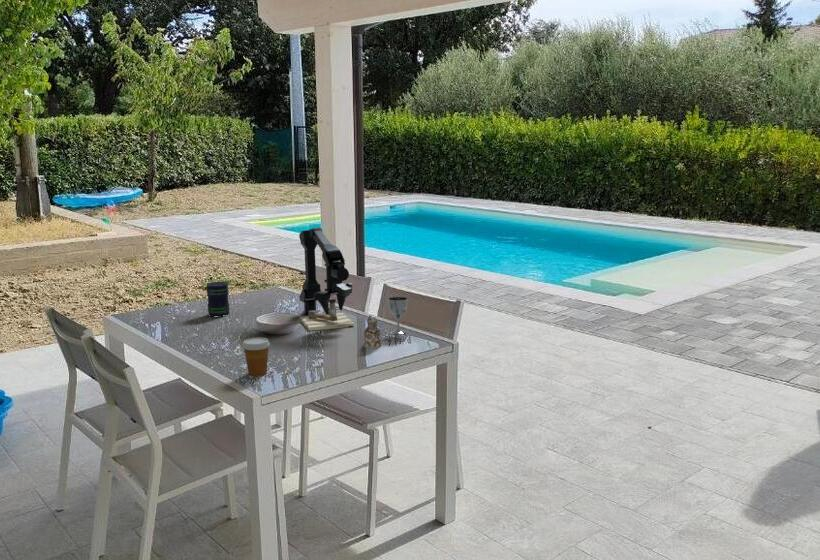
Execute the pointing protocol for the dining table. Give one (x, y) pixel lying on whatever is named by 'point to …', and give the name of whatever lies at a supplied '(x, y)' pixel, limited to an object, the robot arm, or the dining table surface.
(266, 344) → the disposable coffee cup
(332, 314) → the lever
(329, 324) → the nutcracker base
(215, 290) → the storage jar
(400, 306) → the wine glass
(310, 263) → the robot arm
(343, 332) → the dining table surface
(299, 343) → the dining table surface
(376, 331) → the figurine
